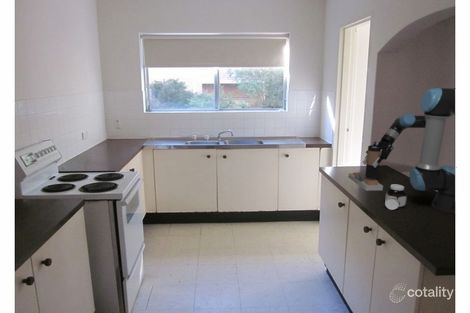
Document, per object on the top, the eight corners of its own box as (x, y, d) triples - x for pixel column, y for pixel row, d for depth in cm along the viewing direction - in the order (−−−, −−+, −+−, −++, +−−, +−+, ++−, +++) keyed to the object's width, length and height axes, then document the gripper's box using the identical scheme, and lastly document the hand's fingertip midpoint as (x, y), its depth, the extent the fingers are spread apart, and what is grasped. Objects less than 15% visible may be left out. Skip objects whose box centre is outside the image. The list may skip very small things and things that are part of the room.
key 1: (365, 179, 234) (365, 174, 234) (356, 179, 234) (356, 175, 233) (361, 176, 240) (361, 172, 239) (353, 176, 240) (353, 172, 239)
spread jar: (401, 203, 193) (404, 184, 191) (409, 211, 182) (412, 191, 180) (379, 202, 195) (381, 183, 192) (386, 210, 184) (388, 190, 181)
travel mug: (364, 177, 217) (367, 147, 212) (366, 174, 224) (368, 144, 219) (377, 179, 214) (380, 148, 209) (378, 176, 220) (381, 146, 215)
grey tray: (382, 190, 215) (383, 185, 214) (365, 190, 215) (366, 185, 214) (363, 177, 242) (363, 172, 242) (348, 177, 242) (348, 172, 241)
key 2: (377, 185, 216) (378, 181, 216) (368, 185, 216) (368, 181, 215) (373, 182, 222) (373, 178, 222) (364, 182, 222) (364, 178, 221)
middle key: (371, 181, 225) (371, 176, 224) (362, 181, 225) (362, 177, 224) (367, 178, 231) (367, 174, 230) (358, 178, 231) (358, 174, 230)
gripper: (405, 144, 211) (384, 172, 208) (379, 138, 229) (359, 164, 226) (401, 136, 207) (379, 165, 204) (374, 131, 225) (353, 157, 222)
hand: (368, 164), depth 215 cm, fingers closed on travel mug, 7 cm apart
